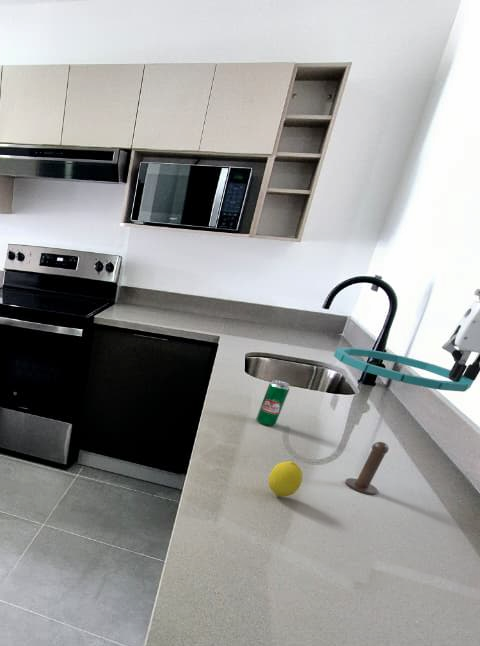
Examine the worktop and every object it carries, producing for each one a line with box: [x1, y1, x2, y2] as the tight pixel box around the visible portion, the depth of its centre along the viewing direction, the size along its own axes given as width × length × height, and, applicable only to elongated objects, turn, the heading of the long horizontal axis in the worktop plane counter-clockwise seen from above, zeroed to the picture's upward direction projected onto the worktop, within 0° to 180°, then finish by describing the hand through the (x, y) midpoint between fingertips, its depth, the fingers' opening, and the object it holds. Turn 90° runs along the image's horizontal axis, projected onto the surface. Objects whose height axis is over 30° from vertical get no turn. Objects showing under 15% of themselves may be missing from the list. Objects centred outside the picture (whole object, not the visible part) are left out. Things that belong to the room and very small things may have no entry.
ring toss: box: [344, 441, 390, 496], centre depth 107 cm, size 6×6×11 cm
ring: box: [333, 346, 474, 393], centre depth 115 cm, size 26×26×2 cm
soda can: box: [255, 379, 290, 427], centre depth 137 cm, size 5×5×12 cm
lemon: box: [268, 460, 303, 498], centre depth 99 cm, size 6×6×8 cm
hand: (459, 381), depth 112 cm, fingers closed on ring, 1 cm apart
